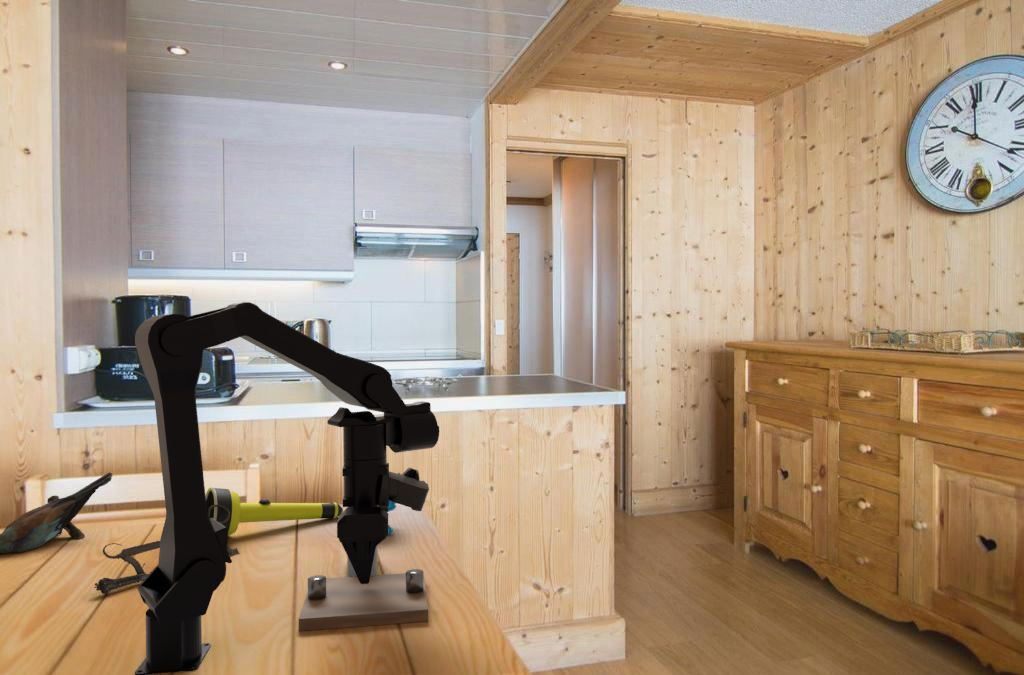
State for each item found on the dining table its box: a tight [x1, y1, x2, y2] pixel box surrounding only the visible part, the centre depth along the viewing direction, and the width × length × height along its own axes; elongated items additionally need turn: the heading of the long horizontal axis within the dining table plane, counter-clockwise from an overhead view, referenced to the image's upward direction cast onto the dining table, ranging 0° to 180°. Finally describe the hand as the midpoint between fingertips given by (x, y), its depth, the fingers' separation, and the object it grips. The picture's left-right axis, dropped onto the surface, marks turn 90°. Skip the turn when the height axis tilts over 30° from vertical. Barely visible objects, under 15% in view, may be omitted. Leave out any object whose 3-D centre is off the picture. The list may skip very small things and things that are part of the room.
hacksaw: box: [94, 505, 240, 595], centre depth 109 cm, size 24×3×10 cm, turn 146°
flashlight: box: [205, 487, 344, 537], centre depth 130 cm, size 25×9×9 cm, turn 126°
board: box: [298, 568, 429, 632], centre depth 95 cm, size 14×16×4 cm
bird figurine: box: [0, 472, 113, 554], centre depth 123 cm, size 13×10×20 cm
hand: (366, 571), depth 95 cm, fingers open, 9 cm apart
